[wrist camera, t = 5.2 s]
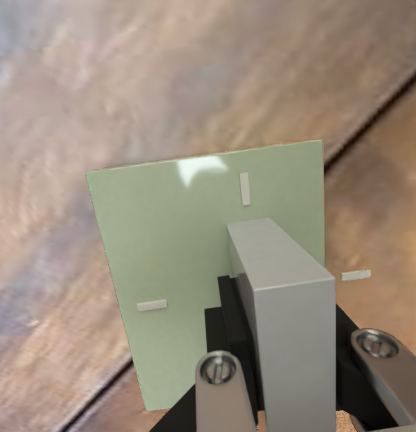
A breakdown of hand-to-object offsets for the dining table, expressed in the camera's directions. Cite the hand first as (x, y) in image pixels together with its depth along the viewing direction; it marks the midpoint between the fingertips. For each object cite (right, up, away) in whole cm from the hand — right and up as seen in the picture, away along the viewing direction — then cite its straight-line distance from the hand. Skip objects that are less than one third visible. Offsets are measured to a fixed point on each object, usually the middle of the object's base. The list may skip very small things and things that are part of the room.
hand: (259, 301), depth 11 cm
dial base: (-1, +1, +4) cm, 4 cm away
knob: (0, 0, +1) cm, 1 cm away
